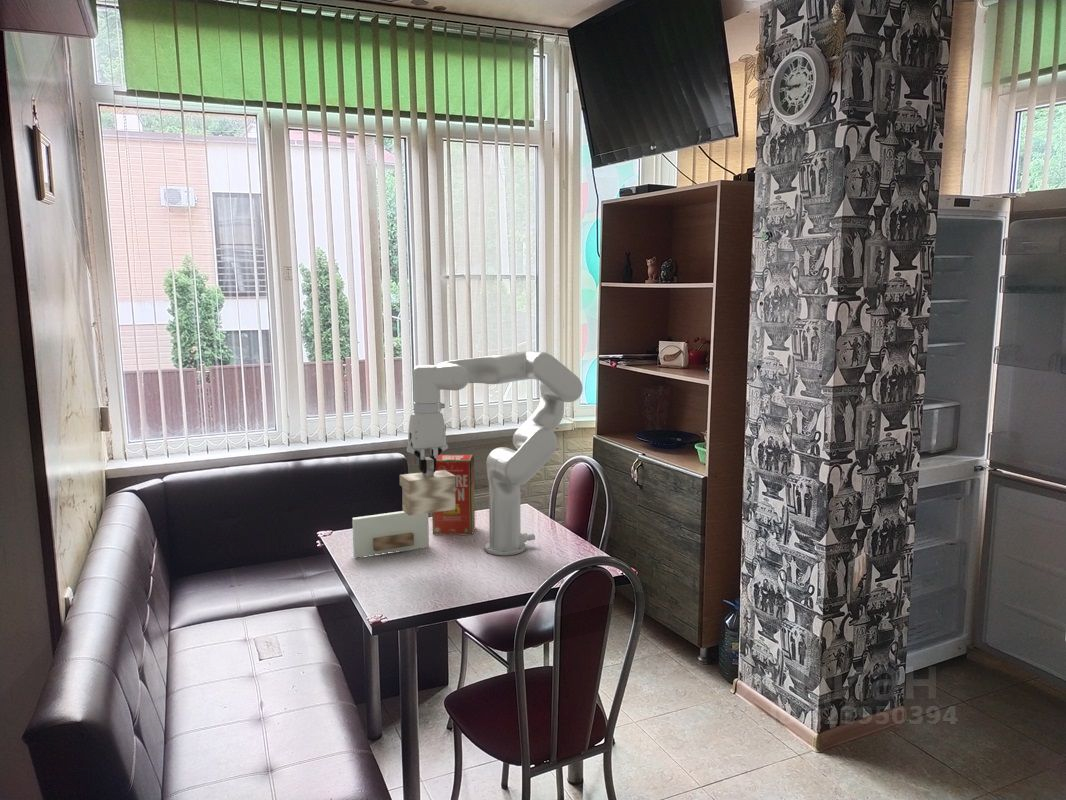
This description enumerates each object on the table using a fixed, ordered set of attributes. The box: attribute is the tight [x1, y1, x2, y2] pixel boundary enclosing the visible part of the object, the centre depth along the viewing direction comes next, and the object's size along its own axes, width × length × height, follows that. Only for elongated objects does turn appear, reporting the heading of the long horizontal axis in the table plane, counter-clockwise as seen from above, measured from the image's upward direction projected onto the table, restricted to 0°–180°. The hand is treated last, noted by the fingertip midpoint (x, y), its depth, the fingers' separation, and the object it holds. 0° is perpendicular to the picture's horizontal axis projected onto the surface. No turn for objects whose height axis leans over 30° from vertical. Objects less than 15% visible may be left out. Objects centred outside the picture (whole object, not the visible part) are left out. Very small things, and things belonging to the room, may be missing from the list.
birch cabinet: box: [399, 456, 455, 516], centre depth 218 cm, size 14×8×15 cm, turn 118°
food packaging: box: [431, 454, 476, 535], centre depth 250 cm, size 13×9×25 cm
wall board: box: [351, 510, 430, 559], centre depth 230 cm, size 23×2×12 cm, turn 117°
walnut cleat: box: [373, 532, 414, 551], centre depth 228 cm, size 12×2×4 cm, turn 117°
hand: (427, 471), depth 217 cm, fingers closed on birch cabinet
